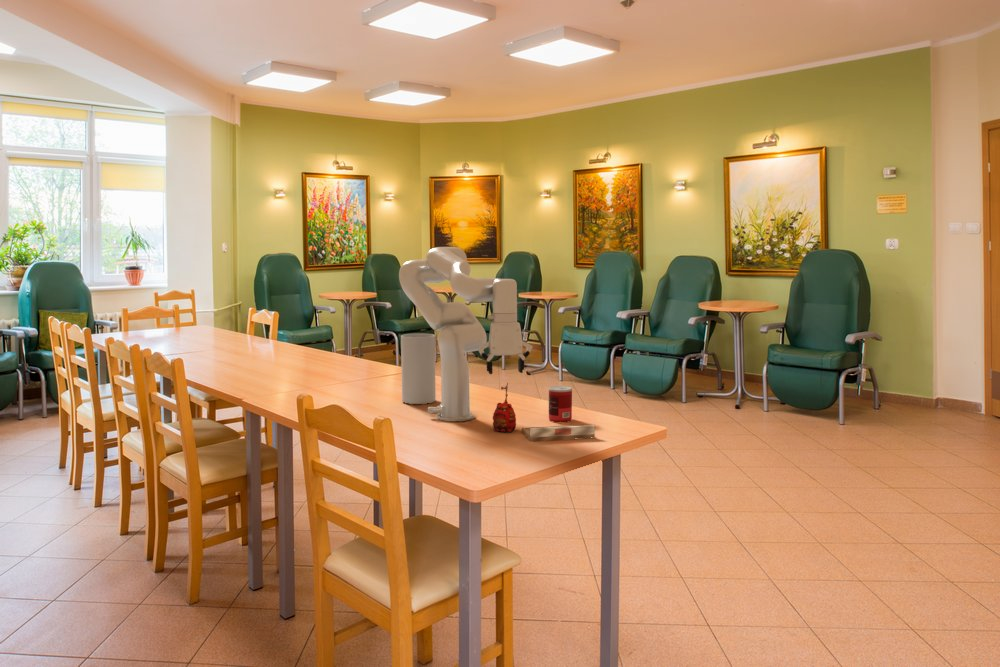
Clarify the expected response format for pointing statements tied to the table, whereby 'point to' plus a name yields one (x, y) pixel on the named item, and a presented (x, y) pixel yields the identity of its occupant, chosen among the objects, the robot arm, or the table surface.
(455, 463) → the table surface
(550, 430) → the shelf board
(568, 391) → the canned food
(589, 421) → the table surface
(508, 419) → the red clay folk toy
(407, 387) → the cylinder vase
